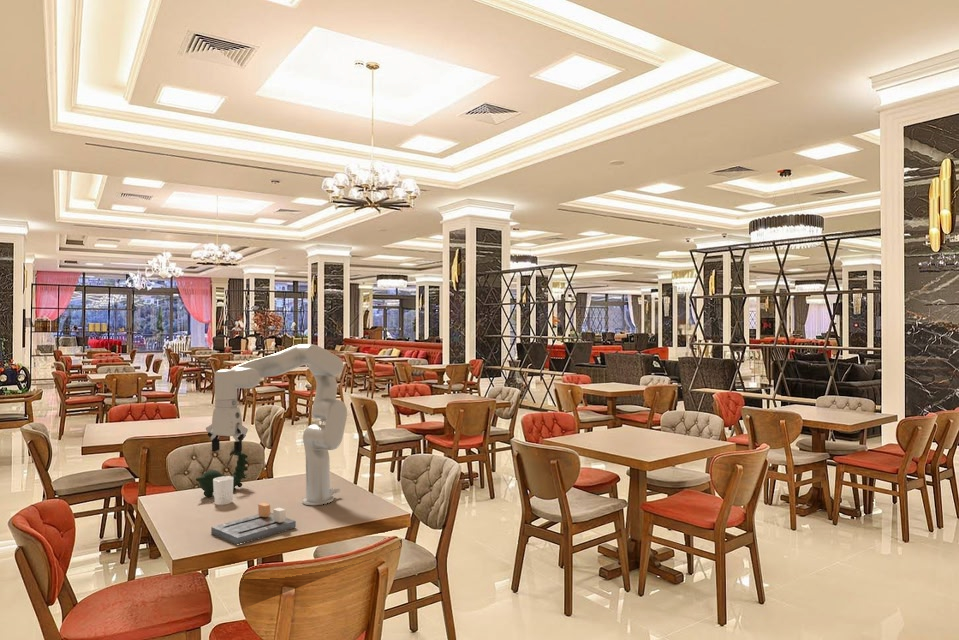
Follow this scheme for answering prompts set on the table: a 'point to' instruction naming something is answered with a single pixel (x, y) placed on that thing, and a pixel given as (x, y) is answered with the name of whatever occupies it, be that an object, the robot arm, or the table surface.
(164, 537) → the table surface
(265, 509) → the fader
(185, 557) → the table surface
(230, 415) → the robot arm
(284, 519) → the fader
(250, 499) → the table surface
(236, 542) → the console
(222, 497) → the white cup
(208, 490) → the toy figurine
